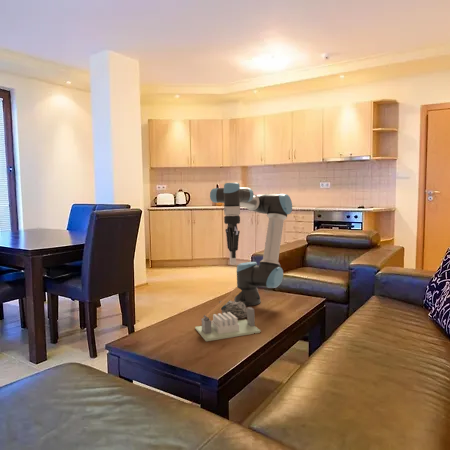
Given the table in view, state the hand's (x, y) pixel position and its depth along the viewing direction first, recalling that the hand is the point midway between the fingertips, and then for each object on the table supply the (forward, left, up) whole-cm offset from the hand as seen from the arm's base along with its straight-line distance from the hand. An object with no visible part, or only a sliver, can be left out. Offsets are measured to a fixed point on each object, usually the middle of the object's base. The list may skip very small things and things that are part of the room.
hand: (232, 264), depth 186 cm
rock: (-9, +4, -30) cm, 31 cm away
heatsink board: (+7, -6, -29) cm, 31 cm away
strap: (+7, -8, -17) cm, 20 cm away
